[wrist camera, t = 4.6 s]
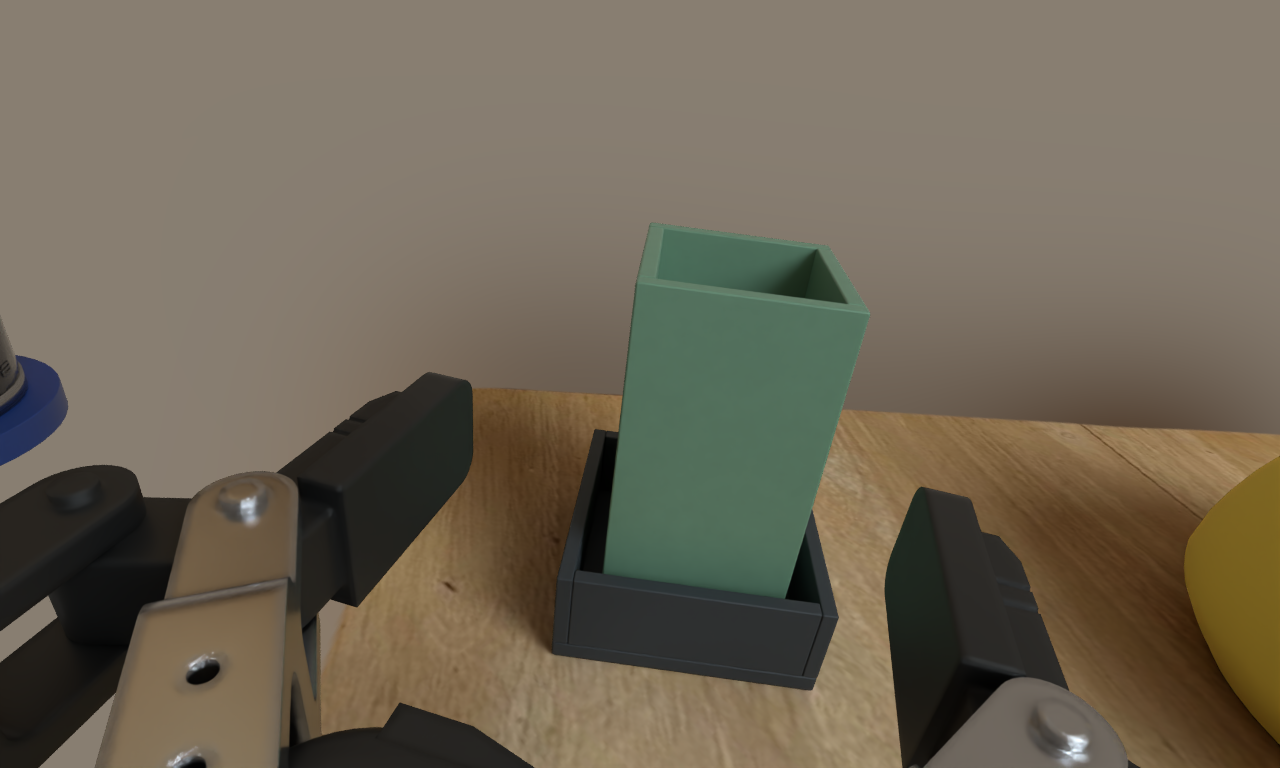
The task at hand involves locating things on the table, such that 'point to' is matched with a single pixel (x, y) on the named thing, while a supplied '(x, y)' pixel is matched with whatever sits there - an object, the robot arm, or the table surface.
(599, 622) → the dark grey square tray
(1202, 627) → the teapot
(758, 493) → the green square holder
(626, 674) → the table surface
